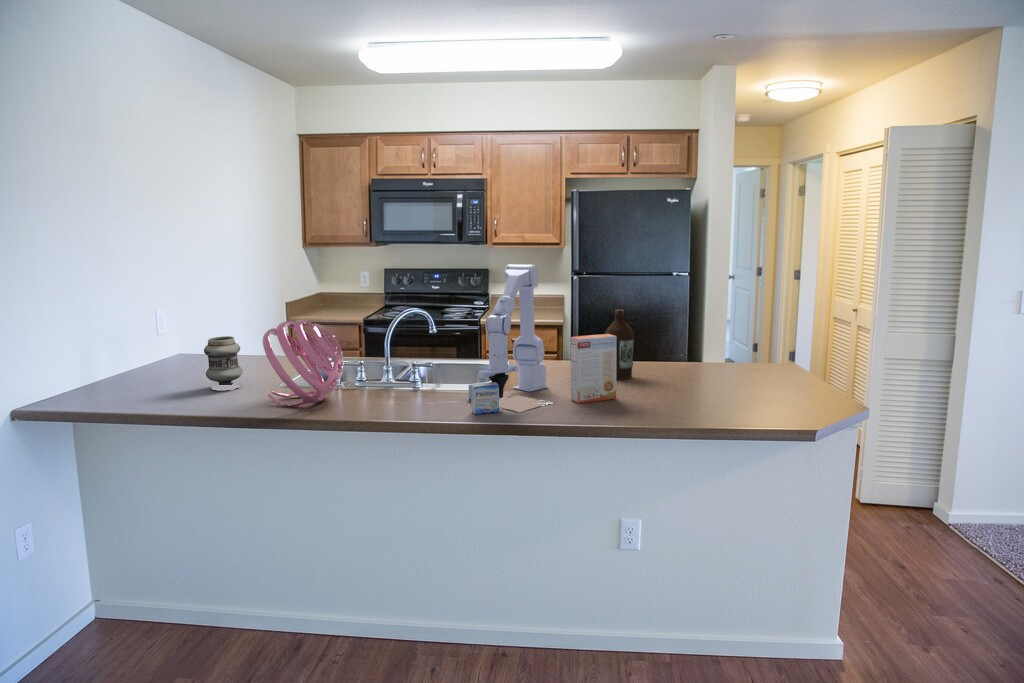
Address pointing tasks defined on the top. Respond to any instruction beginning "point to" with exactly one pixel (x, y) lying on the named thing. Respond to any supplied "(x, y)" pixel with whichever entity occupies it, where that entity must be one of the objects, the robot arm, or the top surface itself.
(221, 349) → the apothecary jar
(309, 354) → the spiral basket
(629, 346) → the olive oil
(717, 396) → the top surface
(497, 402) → the medicine box
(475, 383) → the blue cube
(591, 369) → the cracker box
